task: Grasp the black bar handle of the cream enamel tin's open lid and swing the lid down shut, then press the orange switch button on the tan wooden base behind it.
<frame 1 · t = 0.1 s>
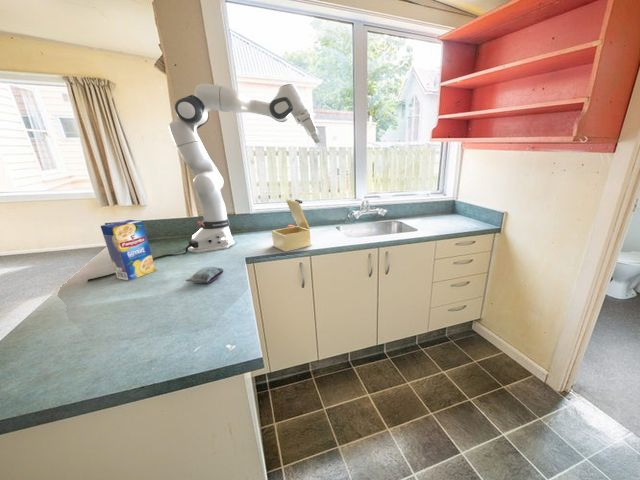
hand: (317, 142, 160), 54 cm above the worktop, tool tilted 30°, fingers open, 8 cm apart
switch button: (291, 226, 185), point 4 cm above the worktop, slide at 0.1 cm
tin lid: (300, 212, 162), point 18 cm above the worktop, hinge at 70.0°
switch base: (291, 233, 186), on the worktop
tin: (292, 245, 164), on the worktop
packaged food: (206, 280, 120), on the worktop
beverage box: (137, 274, 124), on the worktop
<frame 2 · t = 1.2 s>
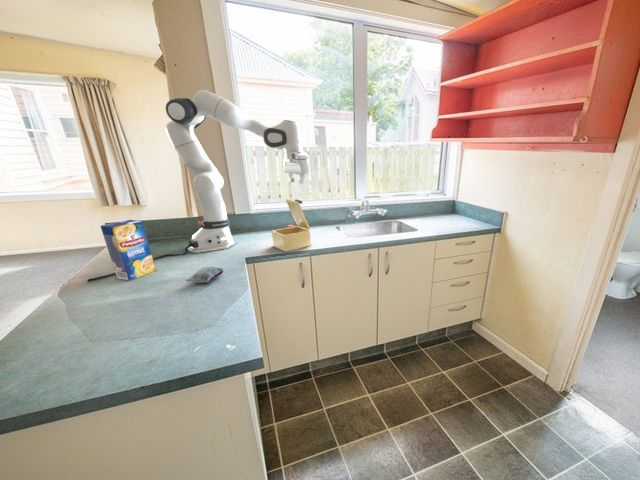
hand: (296, 182, 156), 34 cm above the worktop, tool pointing down, fingers open, 8 cm apart
nothing on the worktop moved.
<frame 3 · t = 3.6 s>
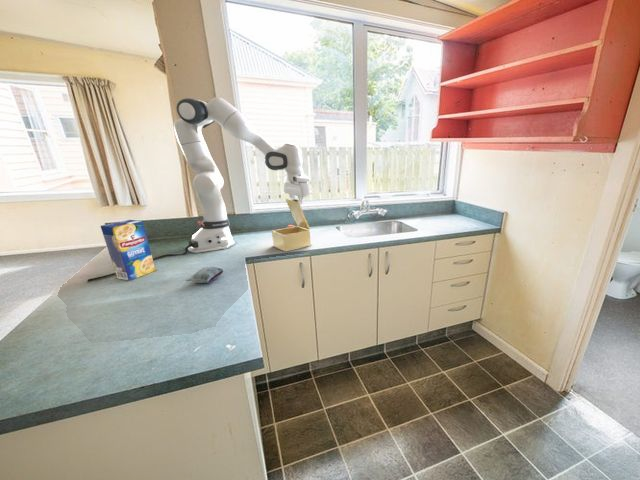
hand: (296, 203, 159), 23 cm above the worktop, tool pointing down, fingers closed on tin lid, 5 cm apart
tin lid: (300, 212, 162), point 18 cm above the worktop, hinge at 70.0°, touching gripper
everything else where it was.
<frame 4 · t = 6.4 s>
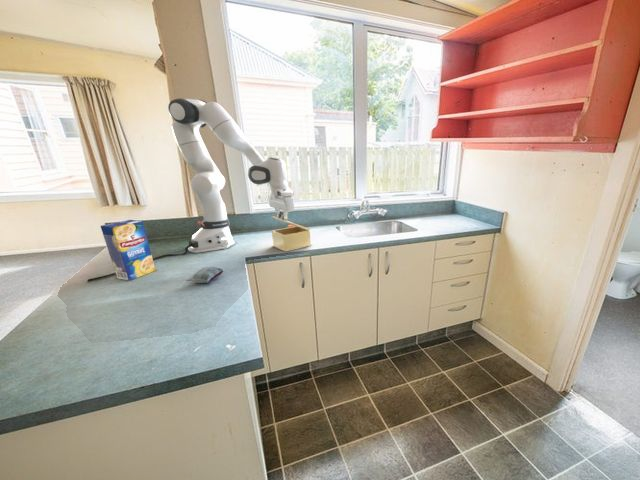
hand: (282, 217, 155), 17 cm above the worktop, tool pointing down, fingers closed on tin lid, 5 cm apart
tin lid: (292, 219, 160), point 15 cm above the worktop, hinge at 26.5°, touching gripper
everything else where it was.
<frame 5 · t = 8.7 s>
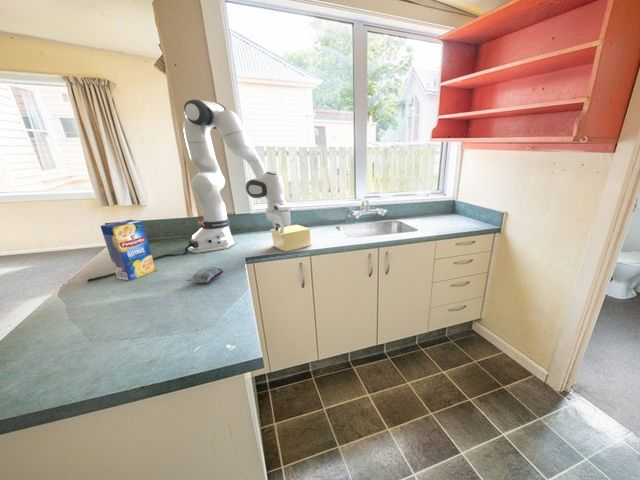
hand: (279, 230, 156), 10 cm above the worktop, tool pointing down, fingers closed on tin lid, 5 cm apart
tin lid: (289, 226, 160), point 11 cm above the worktop, hinge at 0.1°, touching gripper
everything else where it was.
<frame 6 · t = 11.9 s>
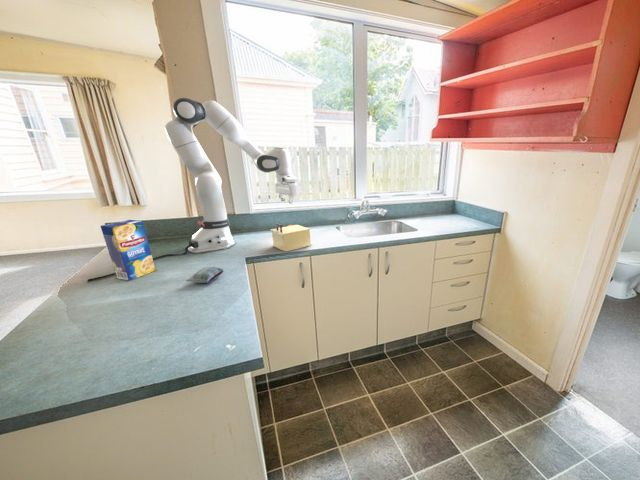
hand: (286, 202, 172), 21 cm above the worktop, tool pointing down, fingers open, 8 cm apart
tin lid: (289, 226, 160), point 11 cm above the worktop, hinge at 0.1°
everything else where it was.
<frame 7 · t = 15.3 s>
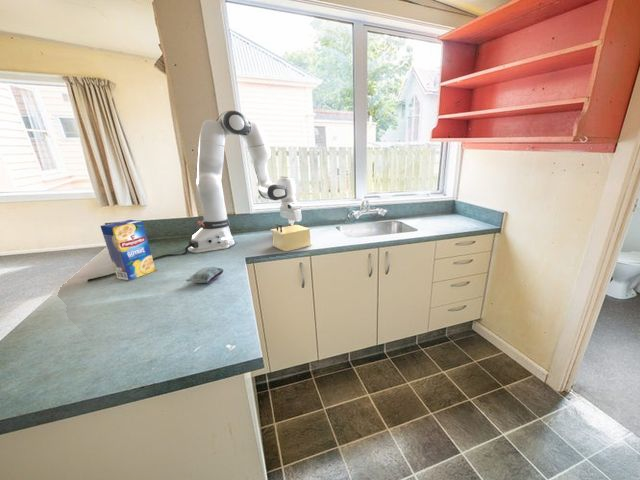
hand: (291, 226, 184), 5 cm above the worktop, tool pointing down, fingers closed, pressing on switch button
switch button: (291, 227, 185), point 4 cm above the worktop, slide at -0.3 cm, touching gripper
everything else where it was.
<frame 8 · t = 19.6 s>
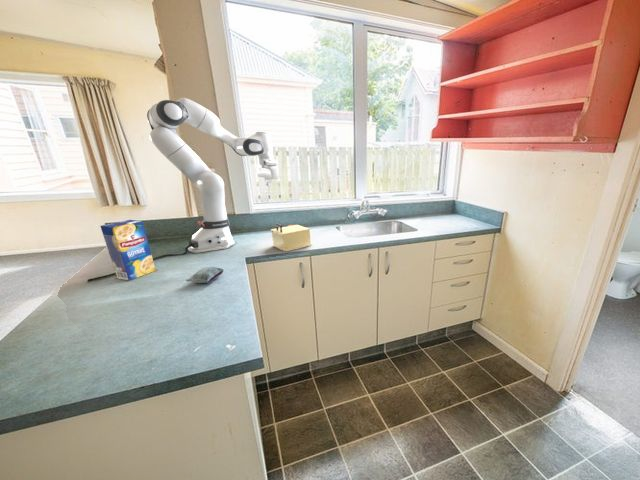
hand: (268, 185, 180), 29 cm above the worktop, tool pointing down, fingers closed
switch button: (291, 226, 185), point 4 cm above the worktop, slide at 0.1 cm
everything else where it was.
at the end: tin lid at +0° (first picture: +70°); switch button pushed in 1.0 cm at the most during the clip, back to where it started at the end; switch button slide at 0.1 cm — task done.
